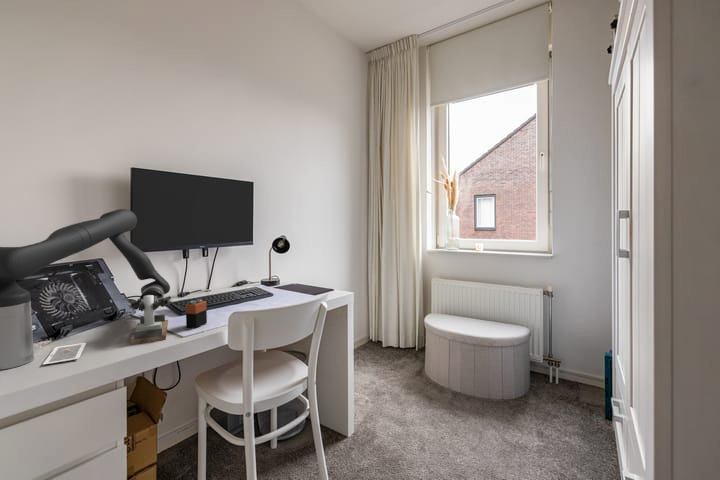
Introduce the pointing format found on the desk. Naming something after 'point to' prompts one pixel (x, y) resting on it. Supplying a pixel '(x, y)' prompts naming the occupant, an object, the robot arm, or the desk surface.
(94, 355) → the desk surface
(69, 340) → the desk surface
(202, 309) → the battery
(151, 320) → the keeper
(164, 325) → the rail base
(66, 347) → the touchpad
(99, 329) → the desk surface
